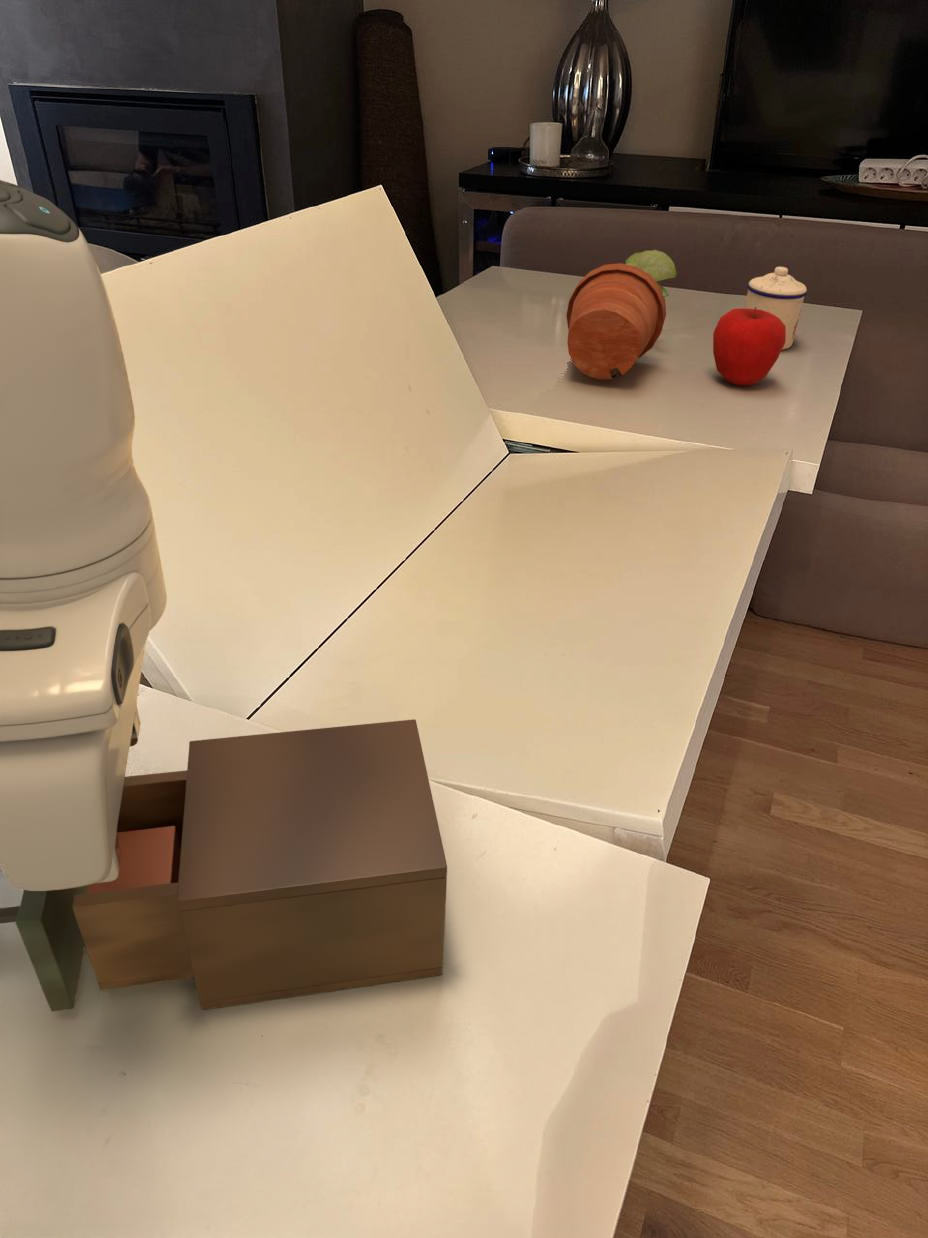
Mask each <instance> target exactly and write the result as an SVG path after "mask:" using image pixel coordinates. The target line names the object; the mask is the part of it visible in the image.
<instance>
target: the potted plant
mask: <svg viewBox="0 0 928 1238" xmlns="http://www.w3.org/2000/svg"><path fill="white" fill-rule="evenodd" d="M676 277H677V269H676V265H675V262H674V261H673V260H672V258H671V256H669V255H668V254H667V253H665V252H664V251H660V250H657V249H652V250H643V251H641V252H640V251H638V252H635V253H633V254H631V255H630V256H629V257H628V258H627V259H626V260H625V263H622V262H618V263H610V264H603V265H601V266H599V267H597V268H594V269H592V270H590V271H589V272H587V274H586V275H585V276H583V277H582V278H581V279H580V280H578V283H577V284H576V287H575V288H574V290H573V292H572V294H571V296H570V297H569V300H568V304H567V310H566V315H565V316H566V323H567V330H568V331H567V341H566V342H567V344H566V345H567V351H568V355H569V357H570V359H571V361H572V363H573V365H575V367H576V368H577V369H578V370H579V371H580V372H581V373H583V374H584V375H586V376H588V377H590V378H594V379H598V380H614V378H616V377H618V376H623V375H624V374H626V373H627V372H628V371H629V370H630V369H632V367H633V365H634V364H635V363H636V361H637V360H638V359H640V358H641V357H643V356H644V355H645V354H646V353H648V352H649V351H651V349H652V348H653V347H654V345H655V343H656V342H657V341H658V340H659V338H660V336H661V334H662V331H663V328H664V324H665V321H666V318H667V306H666V298H665V297H669V293H668V291H667V290H666V288H665V287H664V286H662V283H661V281H664V280H667V279H673V278H676Z"/></svg>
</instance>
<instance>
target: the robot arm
mask: <svg viewBox="0 0 928 1238" xmlns="http://www.w3.org/2000/svg"><path fill="white" fill-rule="evenodd" d="M126 366H127V365H126V361H125V356H124V351H123V347H122V342H121V339H120V335H119V330H118V327H117V323H116V318H115V315H114V312H113V307H112V304H111V301H110V298H109V294H108V291H107V288H106V285H105V282H104V280H103V277H102V274H101V270H100V268H99V266H98V263H97V260H96V258H95V255H94V253H93V251H92V249H91V247H90V245H89V243H88V241H87V239H86V237H85V235H84V234H83V232H82V231H81V229H80V228H79V226H78V225H77V224H76V223H75V221H74V220H73V219H72V218H71V217H70V216H69V215H68V214H67V213H66V212H64V211H63V210H62V209H60V208H59V207H58V206H56V205H55V204H54V203H53V202H52V201H50V200H49V199H48V198H45V197H44V196H41V195H39V194H36V193H34V192H32V191H29V190H27V189H26V188H25V187H23V186H21V185H18V184H16V183H15V184H14V183H11V182H9V181H5V180H2V179H0V868H1V870H2V871H3V873H4V875H5V877H6V879H8V881H9V882H10V883H11V884H12V885H13V886H14V887H16V888H17V889H20V890H23V891H24V890H28V891H50V890H62V889H69V888H75V887H81V886H86V885H91V884H95V883H103V882H111V881H114V880H115V879H117V878H118V874H119V868H120V860H121V848H119V841H118V837H117V833H116V831H117V824H118V818H119V811H120V805H121V799H122V792H123V786H124V780H125V777H126V774H127V773H126V772H127V765H128V761H129V753H130V747H134V746H135V745H137V744H138V741H139V736H140V731H141V730H140V729H141V724H142V723H141V718H140V714H139V710H138V696H139V690H140V684H141V676H142V670H143V665H144V659H145V651H146V645H147V640H148V638H149V635H150V632H151V631H152V629H154V628H155V626H156V625H157V624H158V623H159V621H160V620H161V618H162V616H163V614H164V612H165V609H166V607H167V601H168V595H167V588H166V583H165V577H164V572H163V566H162V559H161V555H160V548H159V543H158V537H157V531H156V526H155V525H156V524H155V521H154V515H153V508H152V504H151V500H150V497H149V494H148V492H147V490H146V487H145V486H144V484H143V482H142V481H141V480H142V479H140V477H139V474H138V473H137V469H136V467H135V463H134V457H133V440H134V434H135V425H136V415H135V408H134V407H135V406H134V402H133V396H132V390H131V385H130V380H129V376H128V375H129V374H128V370H127V367H126Z"/></svg>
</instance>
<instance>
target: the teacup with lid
mask: <svg viewBox="0 0 928 1238" xmlns="http://www.w3.org/2000/svg"><path fill="white" fill-rule="evenodd" d="M788 273H789V269H788V267H784V266H776V267H775V268H774V271H773V272H770V273H766V274H765V275H763V276H757V277H753V278H752V279H750V281H749V282H748V284H747V285H746V287H747V293H746V298H745V302H744V306H743V308H745V309H755V307H756V309H758V310H763V311H766V312H769V313H771V314H773V315H775V316H776V317H778V318H779V319H780V320H781V321H782V322H783V324H784V325H785V326H786V340H785V344H784V346H783V349H782V351H783V350H787V349H789V348H791V347H792V346H793V343H794V340H795V335H796V331H797V327H798V325H799V324H798V323H799V320H800V317H801V316H800V315H801V311H802V308H803V303H804V301H805V300H804V299H805V296H807V294H808V290H807V286H806V285H805V284H804V283H802V282H800V281H799V280H796V279H795V278H794V277H793V276H792V275H790V274H788Z"/></svg>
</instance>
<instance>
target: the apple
mask: <svg viewBox="0 0 928 1238" xmlns="http://www.w3.org/2000/svg"><path fill="white" fill-rule="evenodd" d="M712 334H713V335H712V341H713V342H712V354H713V358H714V364H715V367H716V368H715V369H716V371H717V372H718V373H719V374H720V375H721V376H722V377H723V378H724V379H725V381H727V382H728V383H730V384H732V385H736V386H743V387H745V386H752V385H755V384H757V383H758V382H761V381H763V380H764V379H765V378H766V377H767V375H768V374H769V372H770V371H771V369H772V368H773V367H774V365H775V364H776V363H777V361H778V359H779V357H780V355H781V353H782V351H783V350H782V349H783V346H784V344H785V340H786V326H785V325H784V324H783V322H782V321H781V320H780V319H779V318H778V317H776V316H775V315H773V314H771V313H769V312H766V311H763V310H758V309H756V307H755V309H745V308H744V307H743V308H733V309H730V310H729V311H727V312H726V313H724V314H723V315H722V316H720V317H719V320H718V322H717V324H716V326H715V328H714V330H713V333H712Z"/></svg>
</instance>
